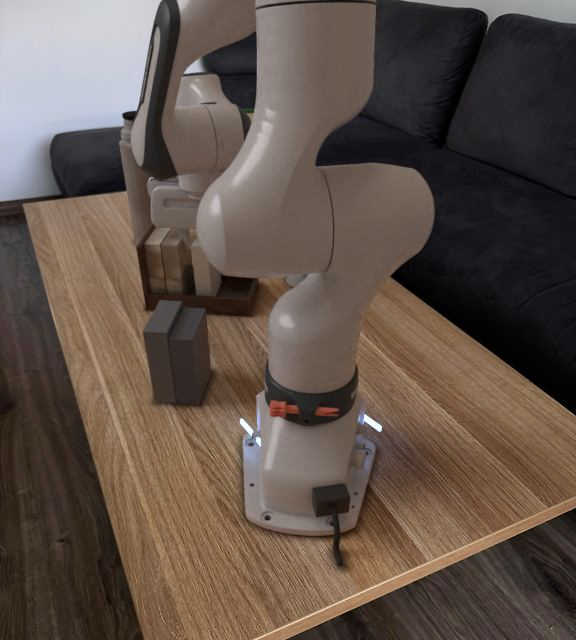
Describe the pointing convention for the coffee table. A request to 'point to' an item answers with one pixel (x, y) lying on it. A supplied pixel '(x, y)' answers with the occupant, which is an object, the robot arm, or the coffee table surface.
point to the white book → (204, 272)
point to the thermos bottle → (135, 183)
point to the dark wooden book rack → (186, 277)
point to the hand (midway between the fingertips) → (210, 250)
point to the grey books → (178, 353)
